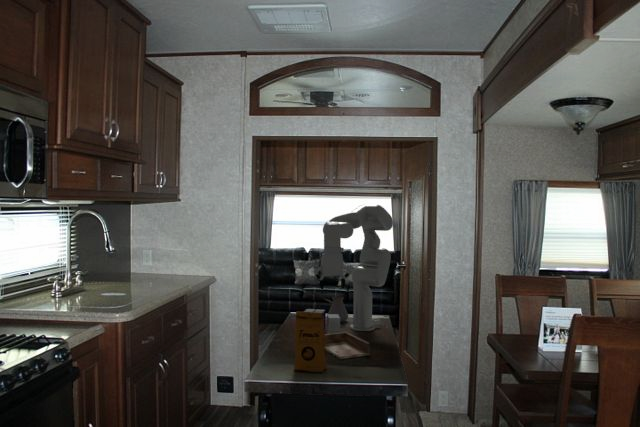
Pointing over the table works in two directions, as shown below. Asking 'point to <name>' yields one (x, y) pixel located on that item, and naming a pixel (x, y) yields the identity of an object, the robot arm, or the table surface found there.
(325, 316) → the puzzle cube
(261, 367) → the table surface
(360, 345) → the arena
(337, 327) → the small box
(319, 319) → the coffee package
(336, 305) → the coffee pot
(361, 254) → the robot arm
